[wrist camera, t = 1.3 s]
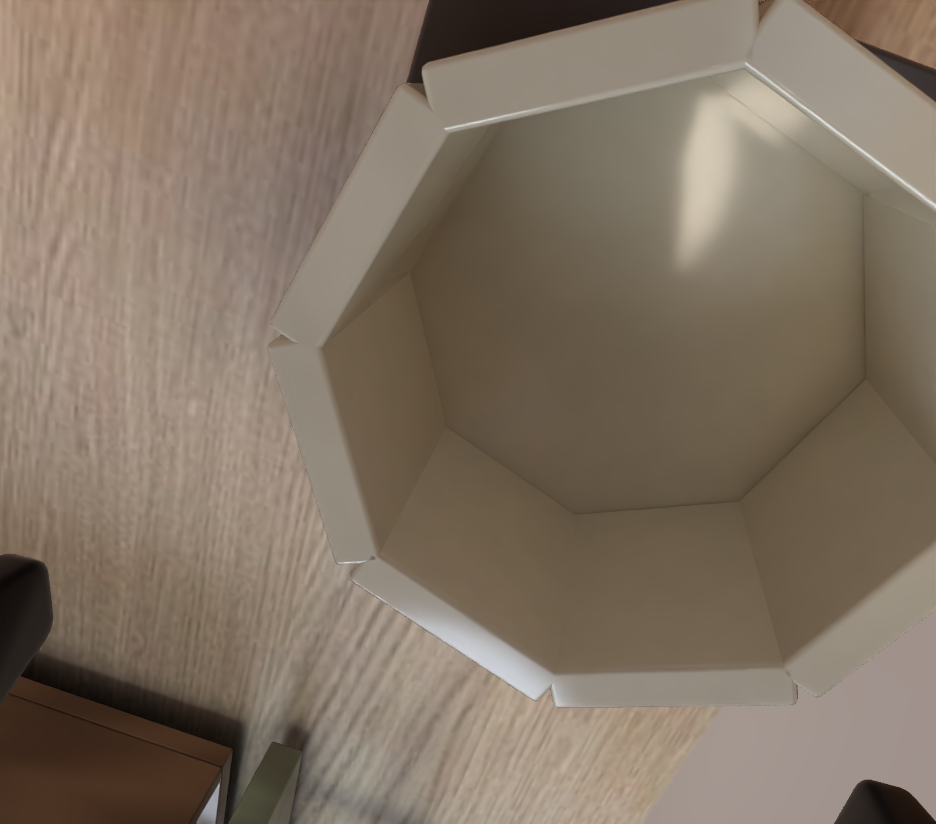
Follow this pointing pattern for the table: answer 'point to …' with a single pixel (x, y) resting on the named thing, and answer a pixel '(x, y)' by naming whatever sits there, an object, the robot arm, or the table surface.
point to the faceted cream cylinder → (634, 357)
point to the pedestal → (554, 8)
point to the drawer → (123, 767)
